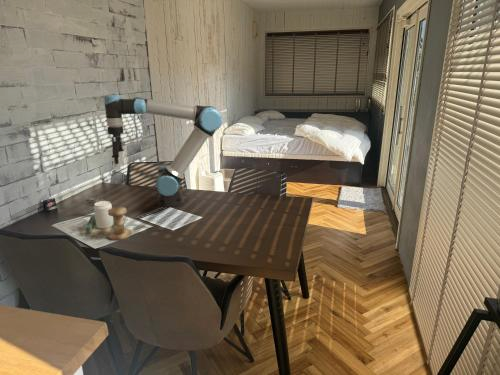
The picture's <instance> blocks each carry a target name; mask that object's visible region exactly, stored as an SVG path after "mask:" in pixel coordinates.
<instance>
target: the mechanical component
mask: <svg viewBox="0 0 500 375" xmlns="http://www.w3.org/2000/svg"><path fill="white" fill-rule="evenodd" d="M85 201H86V204H87V206H88V207H94V205H95V203H97V202H100V201H106V200H105V199H103V198H102V199H99V198H98V197H88V198H86V199H85Z"/></svg>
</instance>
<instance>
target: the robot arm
mask: <svg viewBox="0 0 500 375" xmlns="http://www.w3.org/2000/svg"><path fill="white" fill-rule="evenodd" d="M103 99H104V110H105V118H106V119H105V121H104V122H106V126H107V127H106V128H107V129H106V130H107V134H108V135H112V137H111V144H112V145H111V147H112V148H111V149H112V156H111V158H113V166H114V171H118V170H119V171H120V170H121V169H122V168H121V164H124V155H123V152H124V151H125V149H123V148H124V147H123V144H122V137H121V135H122V134H124V126H123V125H124V122H123V115H145V114H150V115H156V116H163V117H167V118H169V117H170V118H175V119H176V118H177V119H181V120H189V121H192V123H193V129H192V131H191V133H190V135H189V136H188V137H187V138H186V140H185V142H184V144H183V145H182V146H181V148H180V149H179V151H178V152H177V154H176V156H175V157H174V158H173V160H172V162H171V163H170V164H165V165H164V164H163V165H159V166H158V167H157V172H158V174H157V176H158V177H157V180H156V182H155V186H156V190H157V192H159V193H158V197H157V200H156V201H157V205H158V206H159V207H163V208H174V207H177V206H178V207H179V206H181V205H183V204H184V198H183V195H182V192H181V189H180V185H181V183H182V182H183V180H184V179H185V172H186V171H187V170H188V168H189V167H190V165H191V163H192V162H193V161H194V159H195V157H196V156H197V154H198V153H199V152H200V150H201V148H202V147H203V146H204V144H205V142H206V141H207V139H209V138H212V137H213V136H214V134H215V133H216V131H217V130H219V128H221V126H222V123H223V117H222V116H223V115H222V113H221V111H219V110H218V109H217V108H216V107H214V106H211V105H197V104H196V105H194V106H191V105H186V104H181V103H173V102H166V101H161V100H154V99H149V98H148V99H147V98H142V97H139V96H135V97H133V98H121V96H120V95H119V94H106V95H104V97H103Z"/></svg>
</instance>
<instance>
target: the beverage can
mask: <svg viewBox="0 0 500 375" xmlns="http://www.w3.org/2000/svg"><path fill="white" fill-rule="evenodd" d="M99 201H100V202H97V203H95V205H94V206H93V211H94V212H93V213H94V215H95V220H96V227H97V228H101V229H106V228H109V227H111V226H113V225H114V221H113V216H109V215H108V210H109V209H111V208H113V206H112V203H111V201H109V200H108V201H107V200H105V201H101V200H99Z"/></svg>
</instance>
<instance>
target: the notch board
mask: <svg viewBox="0 0 500 375" xmlns="http://www.w3.org/2000/svg"><path fill="white" fill-rule="evenodd" d="M123 220H124V221H125V218H124V217H123ZM84 228H85V232H84V235H85V237H86V236H87V237H89V236H90V237H91V236H100V235H109V232H111V231H113V230H114V225H113V226H111V227H109V228H106V229H101V228H97V227H96V220H95V214H92V215H91V216H90V217H89V220H88V222H87V223H86V226H85V227H84Z"/></svg>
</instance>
